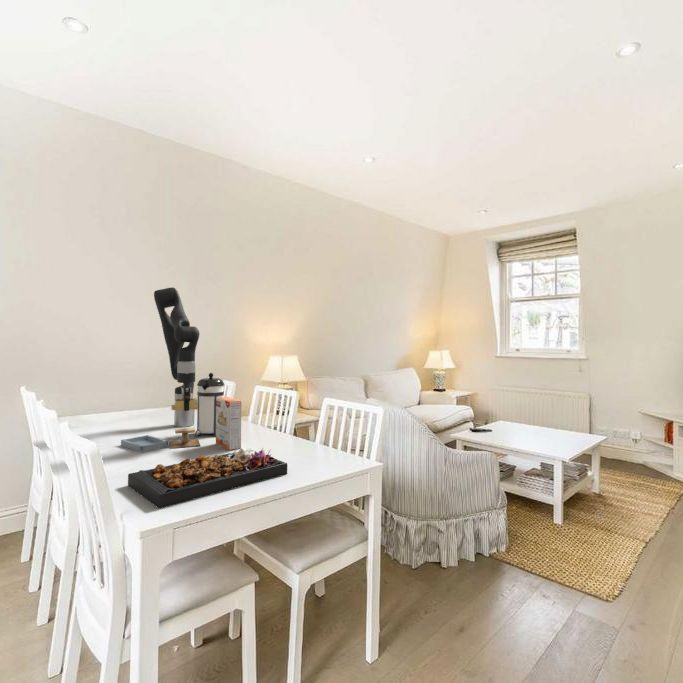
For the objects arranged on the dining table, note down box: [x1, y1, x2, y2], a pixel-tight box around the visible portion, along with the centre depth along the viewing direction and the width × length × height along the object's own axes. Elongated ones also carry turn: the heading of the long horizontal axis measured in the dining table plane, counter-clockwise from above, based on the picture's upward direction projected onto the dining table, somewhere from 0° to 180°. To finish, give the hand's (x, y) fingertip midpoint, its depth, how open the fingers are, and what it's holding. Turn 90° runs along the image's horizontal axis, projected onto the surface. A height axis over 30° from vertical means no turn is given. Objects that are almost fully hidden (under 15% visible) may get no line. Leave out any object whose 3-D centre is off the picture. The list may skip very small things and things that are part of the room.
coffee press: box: [194, 372, 225, 438], centre depth 210 cm, size 17×16×30 cm
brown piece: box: [169, 427, 201, 450], centre depth 188 cm, size 12×12×6 cm
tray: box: [120, 434, 169, 453], centre depth 184 cm, size 17×12×2 cm
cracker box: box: [215, 396, 242, 451], centre depth 186 cm, size 14×6×21 cm, turn 39°
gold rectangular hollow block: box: [170, 397, 198, 412], centre depth 188 cm, size 10×6×4 cm, turn 114°
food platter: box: [127, 446, 288, 509], centre depth 143 cm, size 45×25×10 cm, turn 135°
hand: (186, 409), depth 188 cm, fingers closed on gold rectangular hollow block, 6 cm apart
